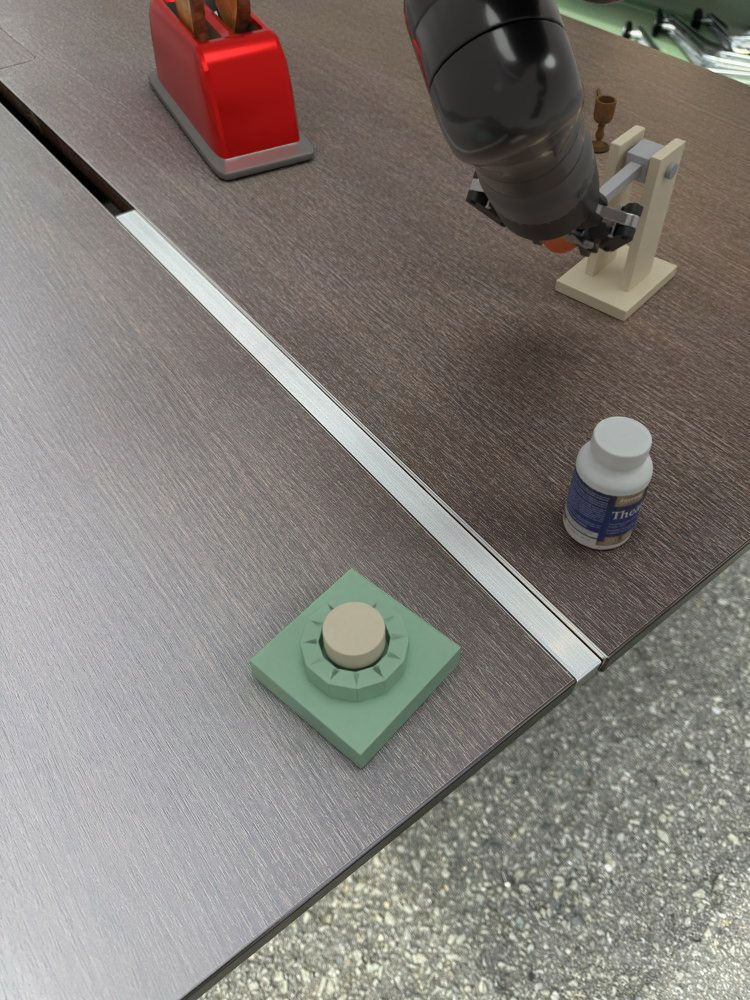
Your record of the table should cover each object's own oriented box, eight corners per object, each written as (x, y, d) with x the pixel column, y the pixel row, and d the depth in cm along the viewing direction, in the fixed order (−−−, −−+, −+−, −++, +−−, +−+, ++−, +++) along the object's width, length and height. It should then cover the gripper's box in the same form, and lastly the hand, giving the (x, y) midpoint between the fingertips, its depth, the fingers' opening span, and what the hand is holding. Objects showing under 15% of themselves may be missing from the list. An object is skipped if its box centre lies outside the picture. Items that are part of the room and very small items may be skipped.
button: (398, 639, 55) (398, 625, 53) (356, 681, 53) (355, 667, 51) (352, 605, 56) (351, 590, 55) (311, 644, 55) (309, 630, 53)
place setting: (602, 82, 116) (610, 36, 111) (614, 153, 103) (624, 105, 98) (474, 79, 117) (477, 33, 113) (470, 149, 104) (474, 101, 100)
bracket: (623, 322, 82) (660, 178, 70) (554, 290, 85) (578, 148, 74) (674, 275, 86) (716, 134, 75) (606, 247, 90) (637, 108, 79)
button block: (459, 663, 58) (463, 632, 55) (361, 770, 53) (359, 742, 50) (352, 584, 62) (350, 552, 59) (252, 676, 57) (245, 645, 54)
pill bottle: (607, 564, 63) (636, 476, 55) (548, 526, 65) (568, 438, 58) (645, 522, 65) (677, 433, 58) (587, 487, 68) (610, 398, 60)
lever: (565, 267, 70) (570, 230, 67) (529, 251, 72) (533, 214, 69) (665, 178, 77) (674, 141, 74) (631, 166, 79) (637, 129, 76)
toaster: (145, 81, 118) (111, -75, 104) (231, 63, 122) (210, -91, 108) (221, 185, 100) (192, 12, 85) (320, 160, 103) (308, -11, 89)
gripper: (661, 132, 54) (662, 214, 70) (457, 92, 58) (502, 179, 75) (622, 246, 55) (631, 302, 71) (423, 199, 59) (475, 262, 75)
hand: (565, 239), depth 73 cm, fingers closed on lever, 3 cm apart
